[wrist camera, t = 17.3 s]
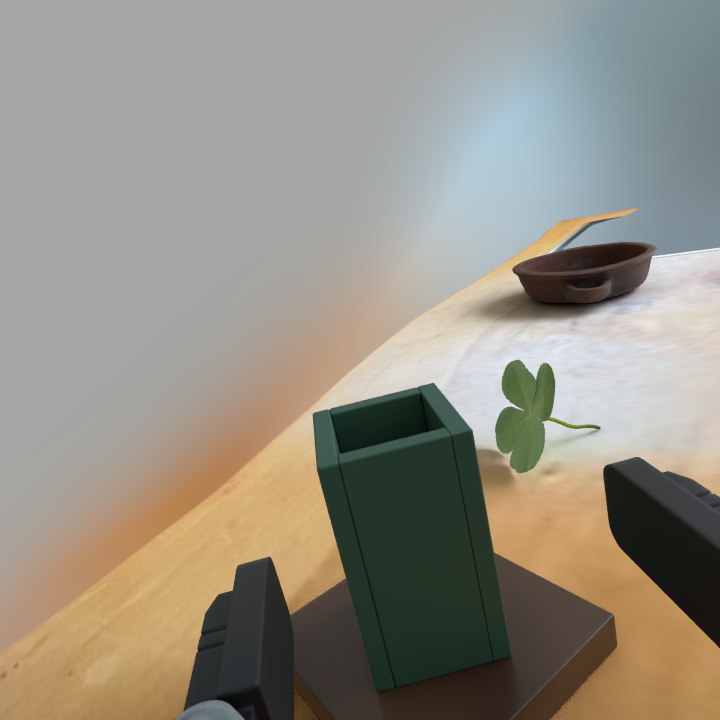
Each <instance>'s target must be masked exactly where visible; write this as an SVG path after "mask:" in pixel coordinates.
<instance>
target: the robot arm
mask: <svg viewBox="0 0 720 720" xmlns="http://www.w3.org/2000/svg"><path fill="white" fill-rule="evenodd" d="M603 476H604V485H605V493H606V502H607V510H608V519H609V525H610V529H611V532H612V534H613V536H614V539H615V540H616V542H617V544H618V545H619V547H620V548H621V549H622V550H623V551H624V552H625V553H626V554H627V555H628V556H629V557H630V558H631V559H632V560H633V561H634V562H635V563H636V564H637V565H638V566H639V567H640V568H641V569H642V570H643V571H644V572H645V573H646V574H647V575H648V576H649V577H650V578H651V579H652V580H653V581H654V582H655V583H656V584H657V585H658V586H659V587H660V588H661V589H662V590H663V592H664V593H665V594H666V595H667V596H668V597H669V598H670V599H671V600H672V601H673V602H674V603H675V604H676V605H677V606H678V607H679V608H680V609H681V610H682V611H683V612H684V613H685V614H686V615H687V616H688V617H689V618H690V619H691V620H692V621H693V622H694V623H695V624H696V625H697V626H698V627H699V628H700V629H701V630H702V631H703V632H704V633H705V634H706V635H707V636H708V637H709V638H710V639H711V640H712V641H713V642H714V643H715V644H716V645H717V646H718V647H719V648H720V497H719V496H717V495H715V494H711V492H710V491H709V490H708V489H706V488H705V487H703V486H702V485H700V484H699V483H697V482H695V481H694V480H692V479H690V478H687V477H684V476H681V475H678V474H675V473H672V472H669V471H667V472H663V473H662V472H660V471H659V470H657V469H656V468H655V467H653V466H652V465H650V464H649V463H647V462H646V461H644V460H643V459H641V458H639V457H635V458H631V459H627V460H624V461H620V462H616V463H613V464H609V465H606V466H605V468H604V471H603ZM201 634H202V636H200V640H199V644H198V652H197V653H196V658H195V662H194V667H193V671H192V676H191V680H190V685H189V689H188V694H187V698H186V703H185V707H184V712H182V713H181V714H180V715H178V716H177V717H176V718H175V719H174V720H294V636H293V628H292V622H291V618H290V614H289V610H288V607H287V604H286V601H285V598H284V595H283V591H282V588H281V585H280V582H279V579H278V576H277V573H276V570H275V566H274V564H273V561H272V559H271V558H270V557H267V558H263V559H259V560H256V561H252V562H248V563H245V564H241V565H238V566H237V569H236V575H235V581H234V587H233V591H230V592H226V593H222V594H219V595H218V596H217V597H216V599H215V600H214V602H213V603H212V605H211V606H210V607H209V609H208V610H207V612H206V613H205V617H204V622H203V626H202V631H201Z"/></svg>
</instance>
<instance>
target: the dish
mask: <svg viewBox="0 0 720 720" xmlns="http://www.w3.org/2000/svg"><path fill="white" fill-rule="evenodd" d="M656 250H657V248H656V247H655V246H654V245H651V244H647V243H637V242H619V243H609V244H601V245H592V246H582V247H576V248H571V249H567V250H562V251H558V252H554V253H550V254H547V255H543V256H539V257H535V258H532V259H529V260H526V261H524V262H521V263H519V264H518V265H516V266H515V267H514V268H513V269H512V270H513V272H514V273H515V274H516V275H518V277H519V279H520V282H521V284H522V286H523V287H524V289H525V291H526V293H527V294H528V295H529V296H530V297H531V298H532V299H534V300H537V301H542V302H550V303H575V302H578V303H592V302H597V301H601V300H603V299H605V298H610V297H614V296H618V295H621V294H624V293H626V292H629V291H631V290H633V289H635V288H637V287H638V286H640V285H641V284H642V283H643V282H644V281H645V280H646V277H647V275H648V271H649V267H650V262H651V258H652V255H653V254H654V253H655V252H656Z"/></svg>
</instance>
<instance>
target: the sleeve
mask: <svg viewBox="0 0 720 720" xmlns="http://www.w3.org/2000/svg"><path fill="white" fill-rule="evenodd" d="M313 424H314V436H315V449H316V462H317V472H318V475H319V479H320V483H321V487H322V490H323V494H324V498H325V502H326V505H327V509H328V513H329V517H330V520H331V524H332V528H333V531H334V535H335V539H336V543H337V546H338V550H339V554H340V558H341V561H342V565H343V569H344V573H345V576H346V580H347V584H348V587H349V591H350V595H351V599H352V602H353V606H354V610H355V614H356V617H357V621H358V625H359V629H360V632H361V636H362V640H363V643H364V647H365V651H366V655H367V658H368V662H369V666H370V670H371V673H372V677H373V681H374V684H375V688H376V691H377V692H382V691H386V690H389V689H393V688H395V686H396V687H401V686H405V685H408V684H412V683H416V682H419V681H423V680H427V679H430V678H434V677H437V676H441V675H445V674H448V673H452V672H456V671H459V670H463V669H467V668H470V667H474V666H477V665H481V664H485V663H488V662H492V661H493V660H494V661H496V660H500V659H504V658H507V657H511V656H512V654H511V648H510V642H509V637H508V631H507V625H506V620H505V614H504V608H503V602H502V597H501V591H500V585H499V579H498V574H497V568H496V562H495V557H494V551H493V545H492V539H491V534H490V528H489V522H488V517H487V511H486V505H485V499H484V494H483V488H482V482H481V476H480V471H479V465H478V459H477V454H476V448H475V442H474V436H473V431H472V429H471V428H470V427H469V426H468V424H467V423H466V422H465V421H464V419H463V418H462V417H461V416H460V415H459V413H458V412H457V411H456V410H455V408H454V407H453V406H452V405H451V403H450V402H449V401H448V400H447V399H446V397H445V396H444V395H443V394H442V392H441V391H440V390H439V389H438V388H437V386H436V385H435V384H434V383H431V384H427V385H423V386H419V387H418V388H412V389H408V390H404V391H400V392H396V393H392V394H388V395H384V396H380V397H376V398H372V399H368V400H364V401H360V402H356V403H352V404H347V405H343V406H339V407H335V408H331V409H330V410H323V411H319V412H315V413H313Z"/></svg>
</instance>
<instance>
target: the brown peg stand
mask: <svg viewBox="0 0 720 720" xmlns="http://www.w3.org/2000/svg"><path fill="white" fill-rule="evenodd" d="M494 557H495V562H496V568H497V574H498V579H499V585H500V591H501V597H502V602H503V608H504V614H505V620H506V625H507V631H508V637H509V642H510V648H511V654H512V656H511V657H507V658H504V659H500V660H496V661H494V660H493V661H492V662H488V663H485V664H481V665H477V666H474V667H470V668H467V669H463V670H459V671H456V672H452V673H448V674H445V675H441V676H437V677H434V678H430V679H427V680H423V681H419V682H416V683H412V684H408V685H405V686H401V687H396V686H395V688H393V689H389V690H386V691H382V692H377V691H376V688H375V684H374V681H373V677H372V673H371V670H370V666H369V662H368V658H367V655H366V651H365V647H364V643H363V640H362V636H361V632H360V629H359V625H358V621H357V617H356V614H355V610H354V606H353V602H352V599H351V595H350V591H349V587H348V584H347V580H346V579H344V580H343V581H341V582H340V583H338V584H337V585H335V586H334V587H332V588H331V589H329V590H328V591H326V592H325V593H323V594H322V595H320V596H319V597H317V598H316V599H314V600H313V601H311V602H310V603H308V604H307V605H305V606H304V607H302V608H301V609H299V610H298V611H296V612H295V613H293V614H292V615H290V618H291V622H292V628H293V636H294V688H295V689H296V690H297V691H298V693H299V694H300V695H301V697H302V698H303V699H304V700H305V702H306V703H307V704H308V705H309V707H310V708H311V709H312V711H313V712H314V713H315V714H316V716H317V717H318V718H319V720H549V719H550V718H551V717H552V716H553V715H554V714H555V713H556V712H557V710H558V709H559V708H560V707H561V706H562V705H563V704H564V703H565V702H566V701H567V700H568V699H569V698H570V696H571V695H572V694H573V693H574V692H575V691H576V690H577V689H578V688H579V687H580V686H581V685H582V683H583V682H584V681H585V680H586V679H587V678H588V677H589V676H590V675H591V674H592V673H593V672H594V670H595V669H596V668H597V667H598V666H599V665H600V664H601V663H602V662H603V661H604V660H605V659H606V657H607V656H608V655H609V654H610V653H611V652H612V651H613V650H614V649H615V648H616V647H617V638H616V629H615V620H614V615H613V614H612V613H610V612H608V611H606V610H604V609H602V608H600V607H598V606H596V605H594V604H592V603H590V602H588V601H586V600H585V599H583V598H581V597H579V596H577V595H575V594H573V593H571V592H569V591H567V590H565V589H563V588H561V587H559V586H558V585H556V584H554V583H552V582H550V581H548V580H546V579H544V578H542V577H540V576H538V575H536V574H534V573H532V572H531V571H529V570H527V569H525V568H523V567H521V566H519V565H517V564H515V563H513V562H511V561H509V560H507V559H505V558H503V557H502V556H500V555H498V554H496V553H494Z"/></svg>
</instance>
